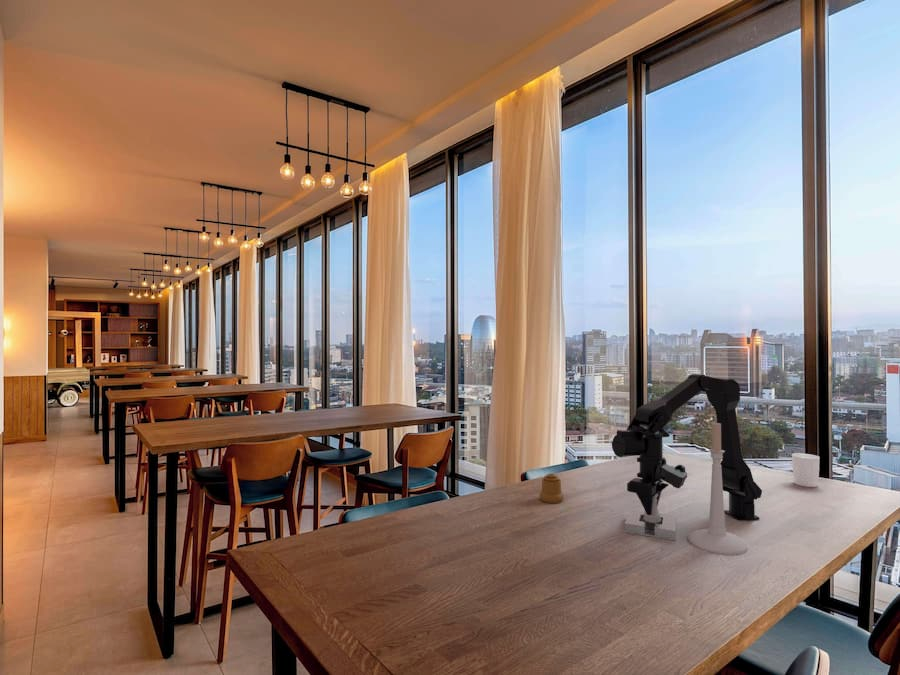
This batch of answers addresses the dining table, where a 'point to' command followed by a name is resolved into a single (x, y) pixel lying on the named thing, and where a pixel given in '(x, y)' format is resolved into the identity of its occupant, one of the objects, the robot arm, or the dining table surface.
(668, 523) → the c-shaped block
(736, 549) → the candlestick
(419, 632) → the dining table surface
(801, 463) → the white cup
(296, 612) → the dining table surface
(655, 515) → the rook chess piece
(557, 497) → the ornamental finial
